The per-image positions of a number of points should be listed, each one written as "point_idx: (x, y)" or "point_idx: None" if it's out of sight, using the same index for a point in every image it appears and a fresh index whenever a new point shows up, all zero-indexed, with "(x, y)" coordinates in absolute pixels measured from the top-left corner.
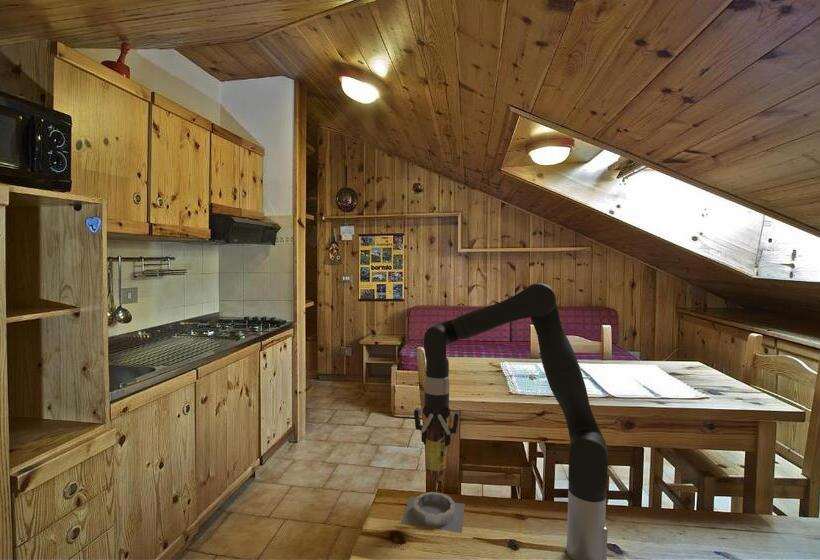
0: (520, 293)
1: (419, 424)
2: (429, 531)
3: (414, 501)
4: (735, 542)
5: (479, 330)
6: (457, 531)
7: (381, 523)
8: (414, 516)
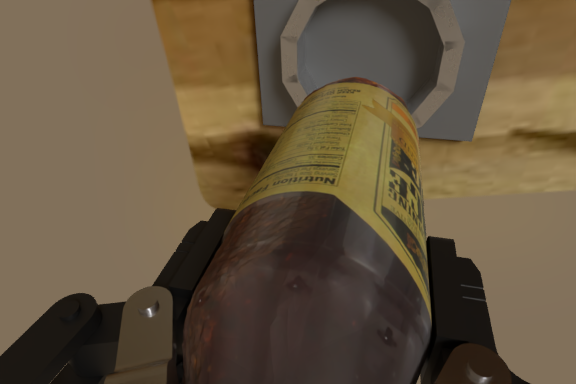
0: None
1: (84, 357)
2: None
3: (282, 64)
4: None
5: None
6: (455, 138)
7: (208, 110)
8: None
